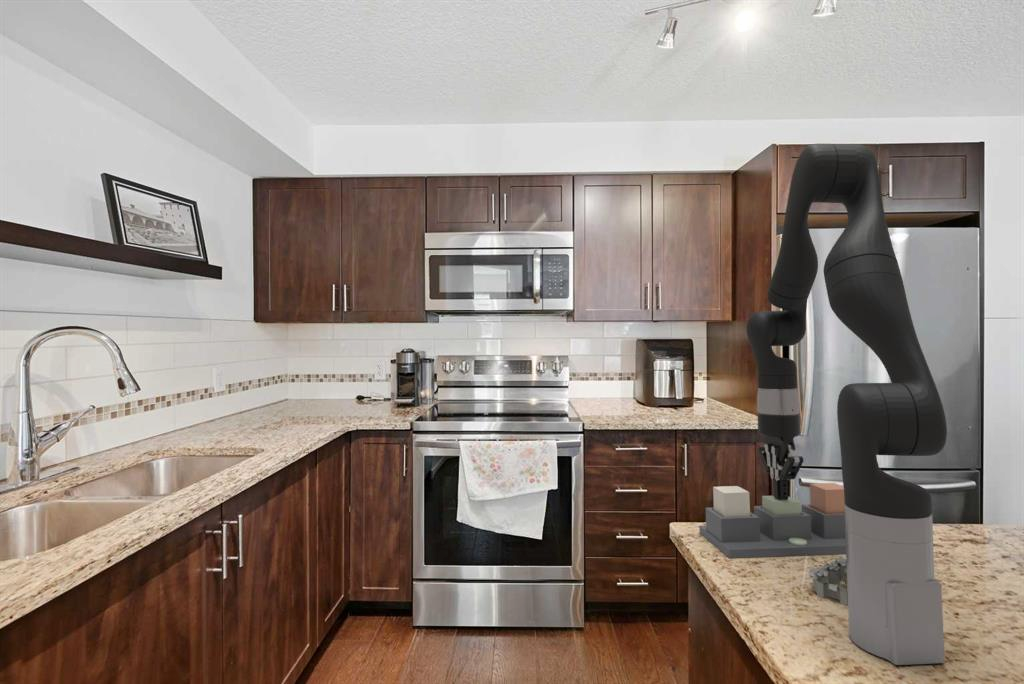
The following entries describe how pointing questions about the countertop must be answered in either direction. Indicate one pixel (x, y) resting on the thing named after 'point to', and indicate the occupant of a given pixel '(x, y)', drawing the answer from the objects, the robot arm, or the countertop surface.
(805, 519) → the key panel
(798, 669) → the countertop surface
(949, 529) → the countertop surface
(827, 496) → the terracotta key
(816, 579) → the grey ruined fortress
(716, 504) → the cream key
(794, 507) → the sage key
